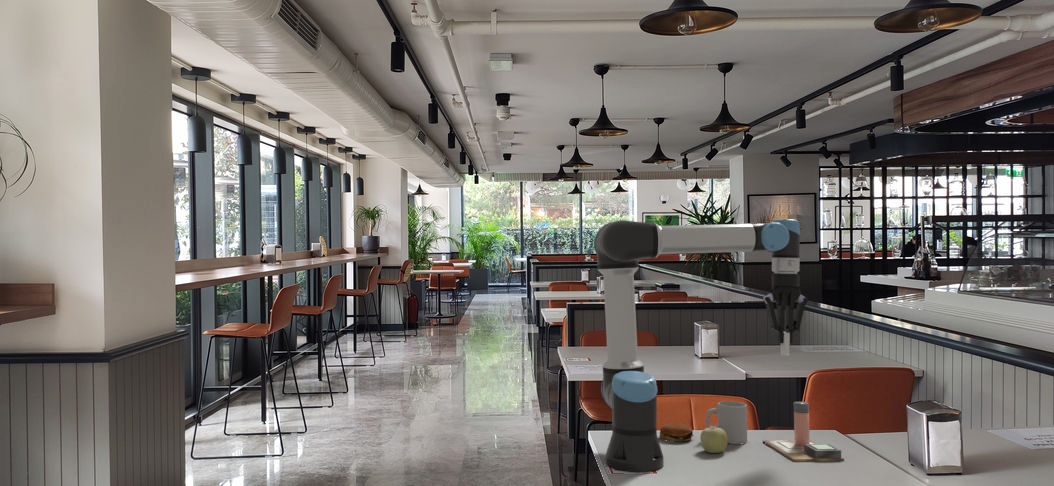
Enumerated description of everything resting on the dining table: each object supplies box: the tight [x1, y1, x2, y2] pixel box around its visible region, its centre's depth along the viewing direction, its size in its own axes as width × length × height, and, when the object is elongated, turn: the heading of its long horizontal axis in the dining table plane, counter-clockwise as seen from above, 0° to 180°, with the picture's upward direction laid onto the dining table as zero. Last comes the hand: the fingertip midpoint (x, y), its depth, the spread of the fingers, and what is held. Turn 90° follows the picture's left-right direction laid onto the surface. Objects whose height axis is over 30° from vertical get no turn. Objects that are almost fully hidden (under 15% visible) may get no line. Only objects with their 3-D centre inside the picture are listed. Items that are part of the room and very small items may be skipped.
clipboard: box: [762, 439, 845, 463], centre depth 199 cm, size 14×20×3 cm
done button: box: [810, 443, 835, 450], centre depth 193 cm, size 5×5×2 cm
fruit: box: [700, 423, 728, 454], centre depth 198 cm, size 8×7×8 cm
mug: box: [705, 400, 748, 445], centre depth 211 cm, size 12×8×11 cm
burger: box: [659, 422, 694, 442], centre depth 213 cm, size 10×9×5 cm
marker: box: [793, 401, 811, 447], centre depth 203 cm, size 4×4×12 cm
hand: (784, 354), depth 203 cm, fingers closed
